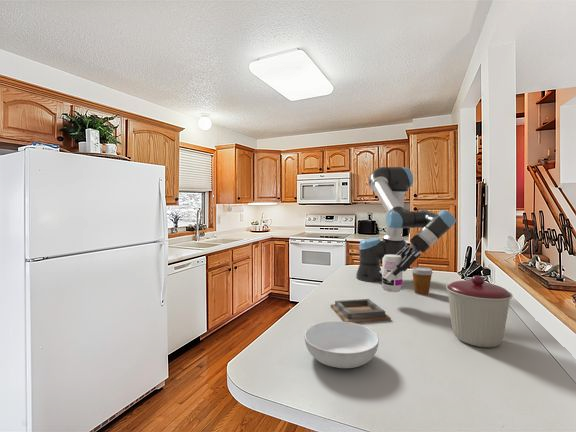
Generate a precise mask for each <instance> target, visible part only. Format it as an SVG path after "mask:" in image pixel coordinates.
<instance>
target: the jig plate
mask: <svg viewBox="0 0 576 432" xmlns="http://www.w3.org/2000/svg"><path fill="white" fill-rule="evenodd" d="M330 308H331V309H332V310H333V311H334V313H335V314H336V315H337V316H338V317H339V318H340V319H341V321H343V322H351V323H356V324H360V323H372V322H373V323H374V322H384V321H385V322H386V321H387V322H388V321H391V320H392V318H391V317H390V316H389V315H388V314H387V313H386V311H385V310H384V309H383V308H382V307H380V306H379V305H377V304H376V303H375V302H373V301H372V300H370V299H369V298H364V299H362V298H361V299H345V300H344V299H343V300H334V303H333V304H330Z"/></svg>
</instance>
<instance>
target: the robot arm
mask: <svg viewBox="0 0 576 432" xmlns="http://www.w3.org/2000/svg"><path fill="white" fill-rule="evenodd" d="M413 176H414V175H413V172H412V170H411V169H410V168H408V167H404V166H381V167H378V168H376V169H373V171H372V172H371V174H370V175H369V177H368V185H369V188H370V189H371V190H372V191H373V192H374V193H375V195H376V196H377V197H378V200H379V201H380V203H381V205H382V206H383V208H384V210H385V212H386V217H385V222H386V229H385V235H383V236H382V240H381V238H379V237H369V238H363V239H361V240H360V242H359V247H358V250H359V259H358V260H359V263H358V267H357V271H356V274H355V275H356V276H355V277H356V279H357V280H359V281H364V282H382V267H381V261H383V257H384V255H386V254H395V255H400V256H401V257H402V259H403V260H402V261H401V262H400V264H399V265H396V267H395V268H394V269H393V270H392V271H391V272H390V273H389V274H387V275H386V276H385V278H386V279H387V280H388V281H389V282H390V281H391V280H393V279H394V278H395V277H396V276H397V275H398V274H399V273H400V272H401V271H402V272H406V271H407V270H408V269H409V268H410V267H411V265H413V264H414V262H415V261H416V260H417V259H418V258H419V257H421V256H422V255H421V253H425V252H426V251H427V250H428V249H429V248H430V247H431V246H433V244H436V242H437V241H438V240H439V239H440V238H441V237H442V236H443V235H444V234H446V232H448V231H449V230H450V229H451V228H452V227H453V226H454V224H456V223H457V219H456V217H455V216H454V215H453V214H452V213H451V212H449V211H448V210H446V209H442V210H440V211H439V212H437V213H435V212H432V211H431V210H425V209H420V210H418V211H414V210H413V211H412V210H411V211H406V209H405V208H404V207H405V195H406V193H408V192H409V191H408V190H409V189H411V188H412V186H413V184H414V177H413ZM419 228H420V230H419V231H418V232H416V234H415V235H414V236H413V237H411V239H409V241H410V243H411V244H409V245H408V243H407V240H405V237H403V236H402V234H403V229H419ZM420 252H421V253H420Z"/></svg>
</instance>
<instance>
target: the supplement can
mask: <svg viewBox="0 0 576 432" xmlns="http://www.w3.org/2000/svg"><path fill="white" fill-rule="evenodd" d="M402 260H403V259H402V257H401V256H400V255H395V254H386V255H384V257H383V260H382V261H381V262H382V264H381V265H382V267H381V270H382V280H381V285H382V286H381V287H382V289H383V291H386V292H387V293H400V292H401V291H402V290H403V271H401V272H400V273H399V274H398V275H397V276H396V277H395V278H394V279H393V280H391V281H390V282H389V281H388V280H387V279H386V278H385V276H386V275H387V274H389V273H390V272H391V271H392V270H393V269H394V268H395V267H396V265H399V264H400V262H401V261H402Z"/></svg>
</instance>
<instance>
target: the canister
mask: <svg viewBox="0 0 576 432" xmlns="http://www.w3.org/2000/svg"><path fill="white" fill-rule="evenodd" d="M445 289H446V290H447V295H448V303H449V313H450V314H449V315H450V321H451V322H450V323H451V329H452V332H453V335H454V336H455V337H456V338H457V339H458V340H460V341H461V342H463V343H466V344H467V345H470V346H474V347H479V348H495V347H497V346H499V345H500V344H501V343H502V341H503V339H504V334H505V330H506V324H507V319H508V313H509V308H510V307H509V305H510V300H511V299H512V298H513V296H514V295H513V293H512V292H510V291H508V290H507V289H506V288H504V287H502V286H499V285H497V284H493V283H490V282H489V283H488V282H485V278H484V277H482V276H481V275H473V276H472V277H471V280H458V281H457V280H455V281H452V282H451V283H449V284H446V285H445Z"/></svg>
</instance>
